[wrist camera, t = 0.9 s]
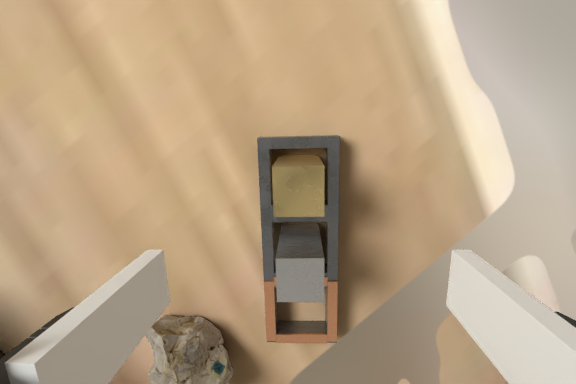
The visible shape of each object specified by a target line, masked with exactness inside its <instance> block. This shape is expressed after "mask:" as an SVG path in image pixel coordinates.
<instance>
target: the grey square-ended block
mask: <svg viewBox="0 0 576 384" xmlns="http://www.w3.org/2000/svg"><path fill="white" fill-rule="evenodd" d="M275 262H276V289H277V302H324V254H323V248H322V243H321V237H320V232H319V227H318V223H282V226H281V231H280V237H279V242H278V247H277V253H276V258H275Z"/></svg>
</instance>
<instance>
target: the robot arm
mask: <svg viewBox="0 0 576 384" xmlns="http://www.w3.org/2000/svg"><path fill="white" fill-rule="evenodd" d="M169 303H170V297H169V289H168V281H167V274H166V266H165V258H164V250H147V251H145V252H144V253H143V254H141V255H140V256H139V257H138V258H136V259H135V260H134V261H133V262H131V263H130V264H129V265H128V266H126V267H125V268H124V269H123V270H121V271H120V272H119V273H117V274H116V275H115V276H114V277H112V278H111V279H110V280H109V281H107V282H106V283H105V284H104V285H102V286H101V287H100V288H99V289H97V290H96V291H95V292H94V293H92V294H91V295H90V296H88V297H87V298H86V299H85V300H83V301H82V302H81V303H80V304H78V305H77V306H76V307H73V308H71V309H69V310H67V311H65V312H63V313H61V314H60V315H58V316H56V317H55V318H53V319H52V320H51V321H49V322H48V323H47V324H45V325H44V326H43V327H42V329H39V330H38V331H36V332H35V333H34V334H32V335H31V336H30V338H29V339H26V340H25V341H23V342H22V343H21V344H19V345H18V346H17V347H15V348H14V349H13V350H12V351H10V352H9V353H8V354H6V355H3V354H2V353H1V352H0V384H108V383H109V382H110V381H111V380H112V378H113V377H114V376H115V374H116V373H117V372H118V370H119V369H120V368H121V366H122V365H123V364H124V362H125V361H126V360H127V358H128V357H129V356H130V354H131V353H132V352H133V350H134V349H135V348H136V347H137V345H138V344H139V343H140V341H141V340H142V339H143V337H144V336H145V335H146V333H147V332H148V331H149V329H150V328H151V327H152V325H153V324H154V323H155V321H156V320H157V319H158V317H159V316H160V315H161V314H162V312H163V311H164V310H165V308H166V307H167V306H168V304H169ZM446 306H447V307H448V308H449V309H450V311H451V312H452V313H453V314H454V316H455V317H456V318H457V319H458V321H459V322H460V323H461V324H462V326H463V327H464V328H465V329H466V331H467V332H468V333H469V334H470V336H471V337H472V338H473V339H474V341H475V342H476V343H477V344H478V346H479V347H480V348H481V349H482V351H483V352H484V353H485V354H486V356H487V357H488V358H489V359H490V361H491V362H492V363H493V364H494V366H495V367H496V368H497V369H498V371H499V372H500V373H501V374H502V376H503V377H504V378H505V379H506V381H507V382H508V383H509V384H576V321H575V320H573V319H571V318H569V317H567V316H565V315H563V314H561V313H559V312H554V311H552V310H551V309H549V308H548V307H547V306H545V305H544V304H543V303H541V302H540V301H539V300H537V299H536V298H535V297H533V296H532V295H531V294H529V293H528V292H527V291H525V290H524V289H522V288H521V287H520V286H518V285H517V284H516V283H514V282H513V281H512V280H510V279H509V278H508V277H506V276H505V275H504V274H502V273H501V272H500V271H498V270H497V269H495V268H494V267H493V266H491V265H490V264H489V263H487V262H486V261H485V260H483V259H482V258H481V257H479V256H478V255H476V254H475V253H474V252H473V251H471V250H452V256H451V266H450V274H449V283H448V292H447V301H446Z"/></svg>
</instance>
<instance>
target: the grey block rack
mask: <svg viewBox="0 0 576 384" xmlns="http://www.w3.org/2000/svg"><path fill="white" fill-rule="evenodd" d="M257 143H258V164H259V185H260V206H261V227H262V249H263V270H264V292H265V313H266V334H267V342H276V343H327V342H330V343H337V298H338V228H339V159H340V136H338V135H328V136H286V137H259V138H257ZM297 148H326V200H324V217H274V211H273V184H272V153H271V149H297ZM274 222H326V263H324V288H326V304H325V321H278V315H277V289H276V262H275V234H274Z"/></svg>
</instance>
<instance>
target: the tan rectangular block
mask: <svg viewBox="0 0 576 384" xmlns="http://www.w3.org/2000/svg"><path fill="white" fill-rule="evenodd" d="M324 178H325V166H324V164H323V163H322V161H321V160H320V158H319V156H318V155H293V156H279V158H278V159H277V161H276V162H275V163H274V165H273V166H272V184H273V211H274V217H324Z"/></svg>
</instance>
